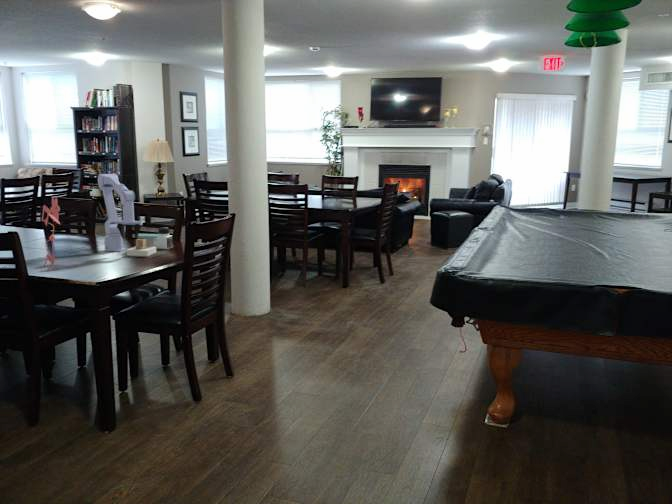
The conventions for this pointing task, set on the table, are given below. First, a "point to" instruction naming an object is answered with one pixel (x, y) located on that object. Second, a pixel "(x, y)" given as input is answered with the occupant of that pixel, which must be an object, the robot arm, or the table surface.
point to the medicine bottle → (164, 239)
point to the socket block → (141, 252)
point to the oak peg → (141, 244)
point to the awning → (149, 239)
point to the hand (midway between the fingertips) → (129, 237)
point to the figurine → (55, 217)
